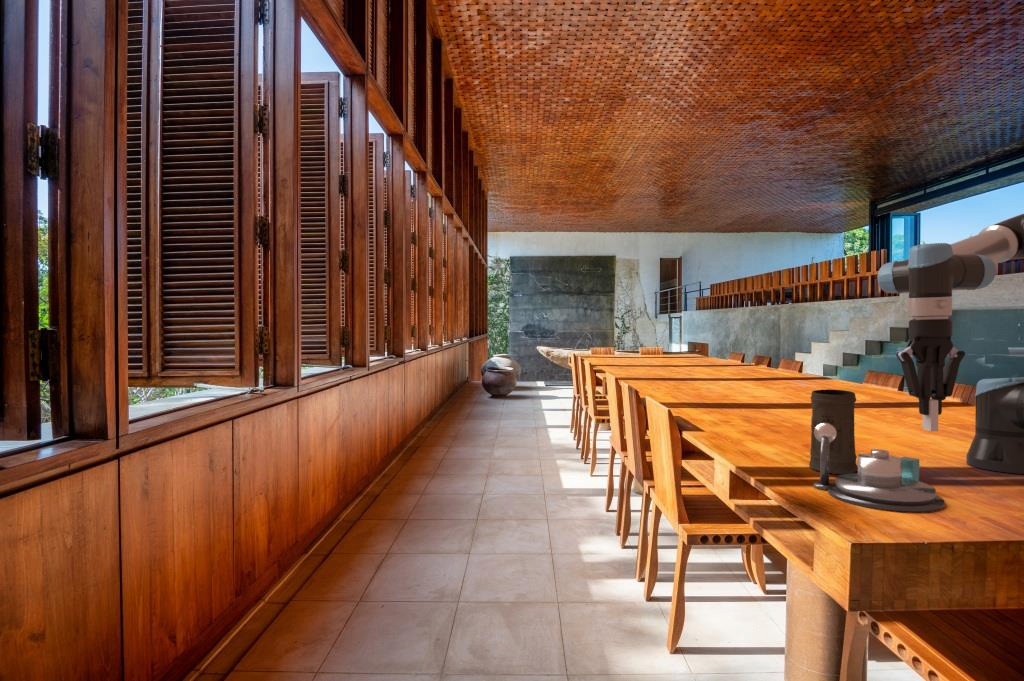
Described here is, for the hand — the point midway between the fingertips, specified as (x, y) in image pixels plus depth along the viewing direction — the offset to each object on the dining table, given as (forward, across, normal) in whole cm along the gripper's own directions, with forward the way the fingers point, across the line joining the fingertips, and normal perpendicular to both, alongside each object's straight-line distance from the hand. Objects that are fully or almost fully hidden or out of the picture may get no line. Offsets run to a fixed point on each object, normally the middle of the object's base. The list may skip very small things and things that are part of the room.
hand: (930, 430), depth 127 cm
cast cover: (+11, -11, 0) cm, 15 cm away
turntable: (+13, -8, +1) cm, 16 cm away
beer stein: (+15, -8, +26) cm, 31 cm away
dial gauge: (+14, -19, +7) cm, 24 cm away
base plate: (+14, -10, 0) cm, 17 cm away
